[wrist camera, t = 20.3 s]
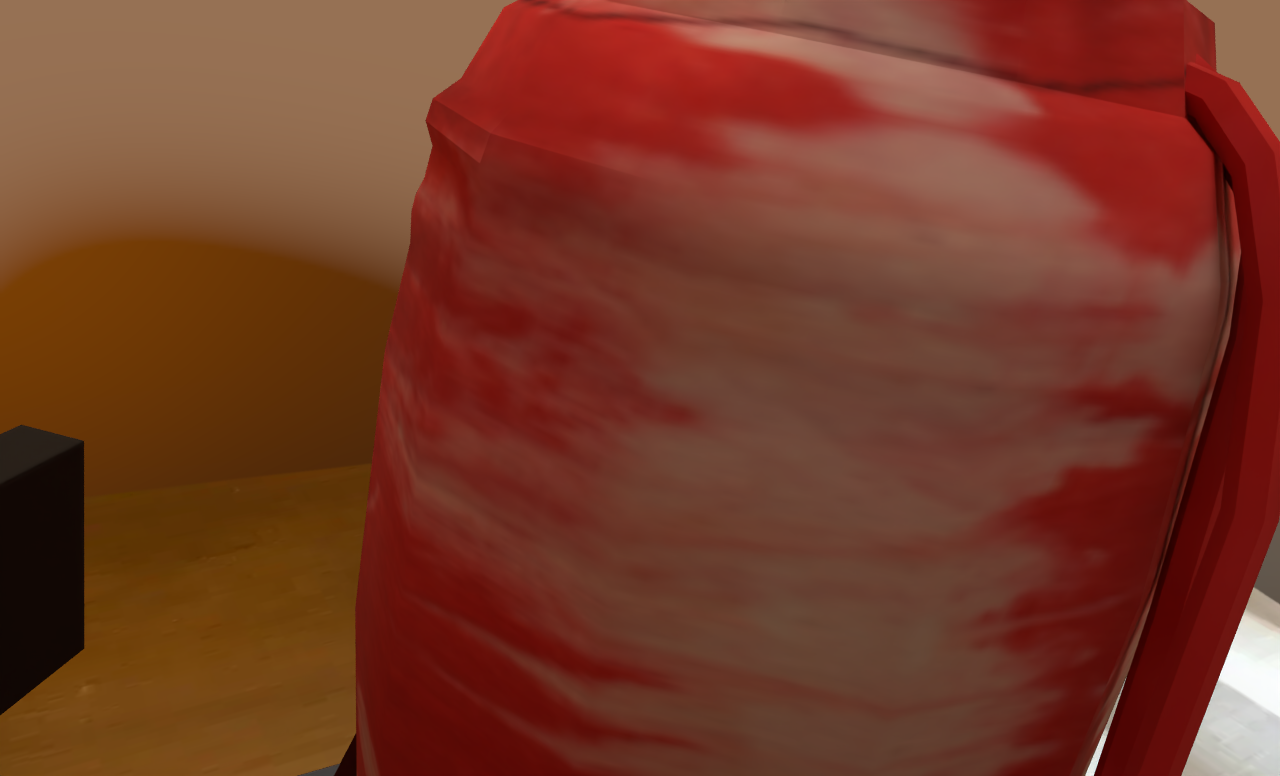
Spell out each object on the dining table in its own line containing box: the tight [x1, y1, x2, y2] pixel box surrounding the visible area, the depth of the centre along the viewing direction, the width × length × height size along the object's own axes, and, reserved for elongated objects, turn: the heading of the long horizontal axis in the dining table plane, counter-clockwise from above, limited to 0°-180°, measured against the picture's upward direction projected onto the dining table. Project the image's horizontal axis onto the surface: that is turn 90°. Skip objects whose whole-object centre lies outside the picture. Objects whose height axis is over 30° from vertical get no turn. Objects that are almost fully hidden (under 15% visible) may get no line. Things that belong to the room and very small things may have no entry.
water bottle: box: [334, 0, 1280, 776], centre depth 13 cm, size 12×8×25 cm, turn 37°
